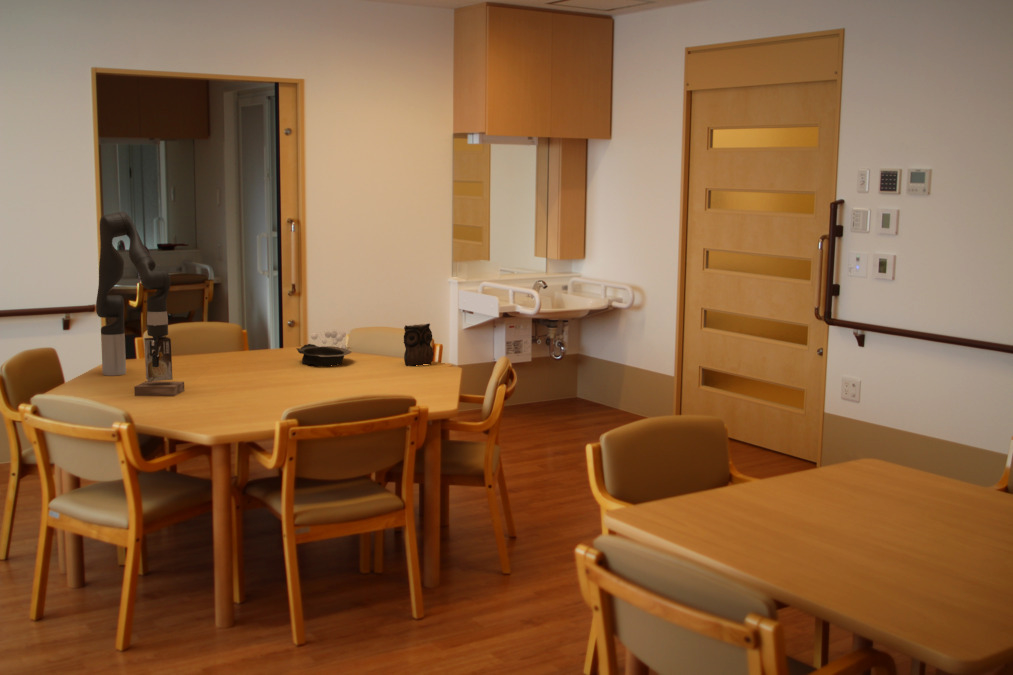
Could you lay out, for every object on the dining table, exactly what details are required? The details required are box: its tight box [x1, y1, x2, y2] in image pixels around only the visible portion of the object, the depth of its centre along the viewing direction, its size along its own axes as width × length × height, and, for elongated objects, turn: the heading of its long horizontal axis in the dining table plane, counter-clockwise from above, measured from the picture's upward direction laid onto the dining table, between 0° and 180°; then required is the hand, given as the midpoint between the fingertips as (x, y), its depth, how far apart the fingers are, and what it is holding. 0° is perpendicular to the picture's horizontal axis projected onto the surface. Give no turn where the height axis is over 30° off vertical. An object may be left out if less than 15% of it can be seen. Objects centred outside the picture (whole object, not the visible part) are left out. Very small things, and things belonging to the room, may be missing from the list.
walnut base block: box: [133, 380, 185, 397], centre depth 377 cm, size 12×15×4 cm
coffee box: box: [143, 336, 174, 381], centre depth 376 cm, size 9×6×16 cm
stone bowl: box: [296, 343, 352, 367], centre depth 448 cm, size 25×25×9 cm
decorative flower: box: [308, 329, 348, 349], centre depth 477 cm, size 25×22×14 cm
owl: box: [403, 323, 435, 367], centre depth 448 cm, size 13×13×20 cm
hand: (158, 365), depth 376 cm, fingers closed on coffee box, 8 cm apart
